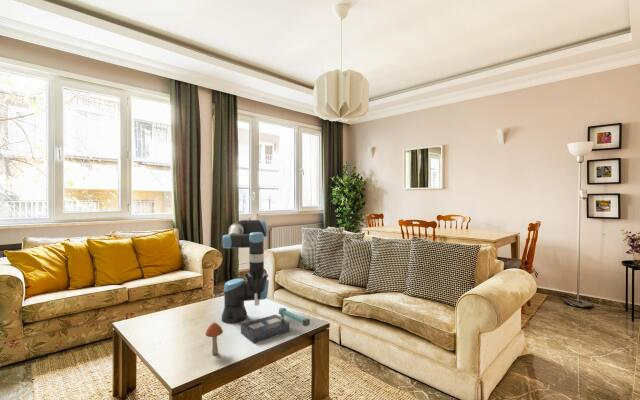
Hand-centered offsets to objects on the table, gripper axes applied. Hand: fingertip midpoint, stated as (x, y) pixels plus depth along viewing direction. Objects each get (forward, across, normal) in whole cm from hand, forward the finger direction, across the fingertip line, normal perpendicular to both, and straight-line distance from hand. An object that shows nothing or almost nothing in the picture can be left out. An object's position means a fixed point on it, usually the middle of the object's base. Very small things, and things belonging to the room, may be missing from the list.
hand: (256, 304), depth 175 cm
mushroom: (+17, -10, -24) cm, 31 cm away
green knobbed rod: (+9, +18, +8) cm, 21 cm away
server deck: (+16, +3, +4) cm, 17 cm away
